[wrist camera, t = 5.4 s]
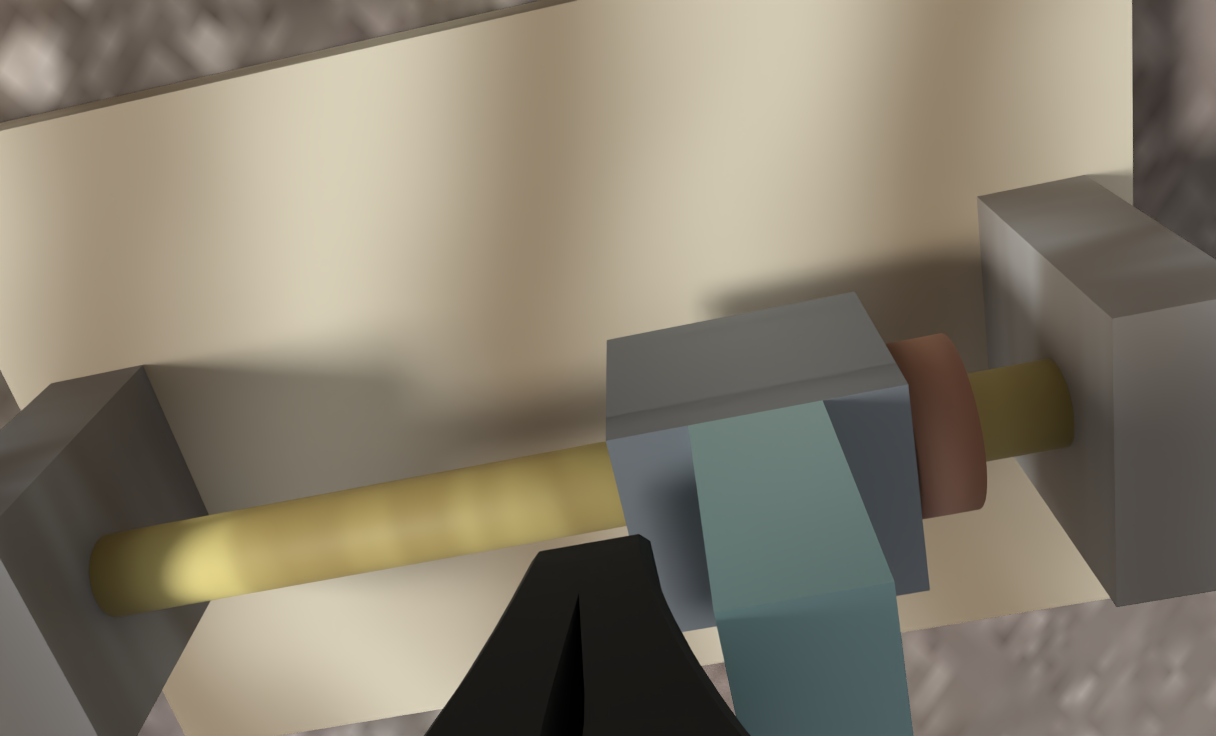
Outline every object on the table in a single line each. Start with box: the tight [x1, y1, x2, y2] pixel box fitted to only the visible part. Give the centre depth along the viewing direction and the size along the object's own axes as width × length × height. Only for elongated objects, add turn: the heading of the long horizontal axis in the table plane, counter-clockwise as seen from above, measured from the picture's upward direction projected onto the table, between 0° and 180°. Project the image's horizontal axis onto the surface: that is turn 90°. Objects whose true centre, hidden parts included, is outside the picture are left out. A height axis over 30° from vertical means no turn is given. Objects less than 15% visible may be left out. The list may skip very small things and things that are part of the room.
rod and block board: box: [0, 0, 1216, 736], centre depth 16 cm, size 18×12×6 cm, turn 102°
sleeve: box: [606, 291, 930, 736], centre depth 13 cm, size 4×3×6 cm
